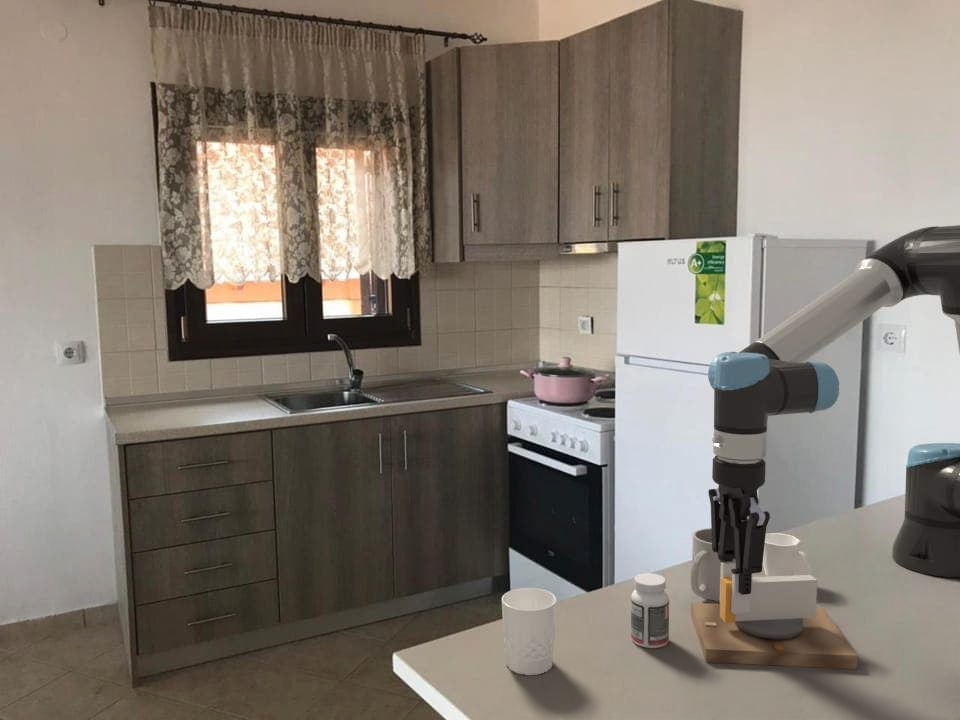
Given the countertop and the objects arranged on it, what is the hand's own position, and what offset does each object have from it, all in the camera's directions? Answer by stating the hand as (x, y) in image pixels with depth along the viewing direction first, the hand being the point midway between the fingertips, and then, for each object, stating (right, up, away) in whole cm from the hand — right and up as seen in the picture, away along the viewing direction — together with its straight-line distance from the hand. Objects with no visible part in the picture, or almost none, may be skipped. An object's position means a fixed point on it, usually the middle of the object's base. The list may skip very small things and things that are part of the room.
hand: (734, 606), depth 123 cm
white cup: (-32, -7, -5) cm, 33 cm away
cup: (+16, -3, +22) cm, 27 cm away
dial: (+5, -3, +1) cm, 6 cm away
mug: (+2, -3, +18) cm, 19 cm away
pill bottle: (-13, -6, +1) cm, 14 cm away
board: (+5, -5, +1) cm, 8 cm away
